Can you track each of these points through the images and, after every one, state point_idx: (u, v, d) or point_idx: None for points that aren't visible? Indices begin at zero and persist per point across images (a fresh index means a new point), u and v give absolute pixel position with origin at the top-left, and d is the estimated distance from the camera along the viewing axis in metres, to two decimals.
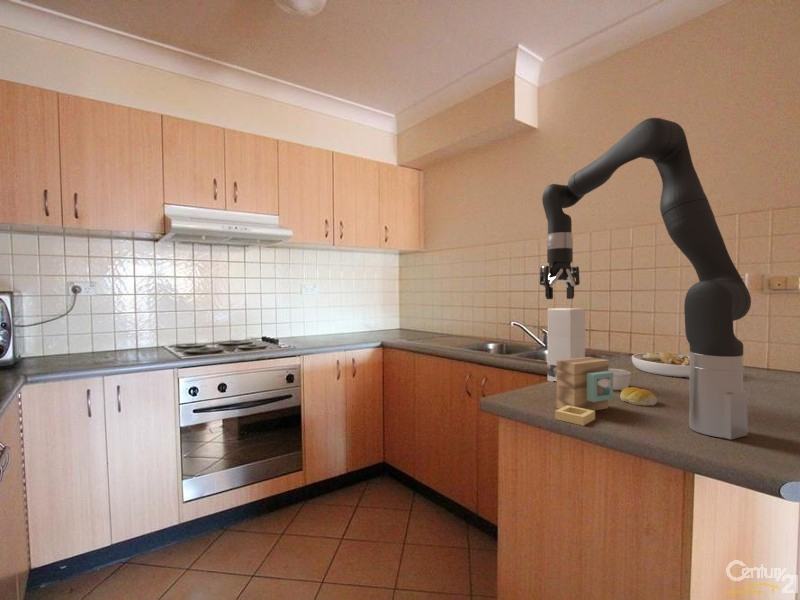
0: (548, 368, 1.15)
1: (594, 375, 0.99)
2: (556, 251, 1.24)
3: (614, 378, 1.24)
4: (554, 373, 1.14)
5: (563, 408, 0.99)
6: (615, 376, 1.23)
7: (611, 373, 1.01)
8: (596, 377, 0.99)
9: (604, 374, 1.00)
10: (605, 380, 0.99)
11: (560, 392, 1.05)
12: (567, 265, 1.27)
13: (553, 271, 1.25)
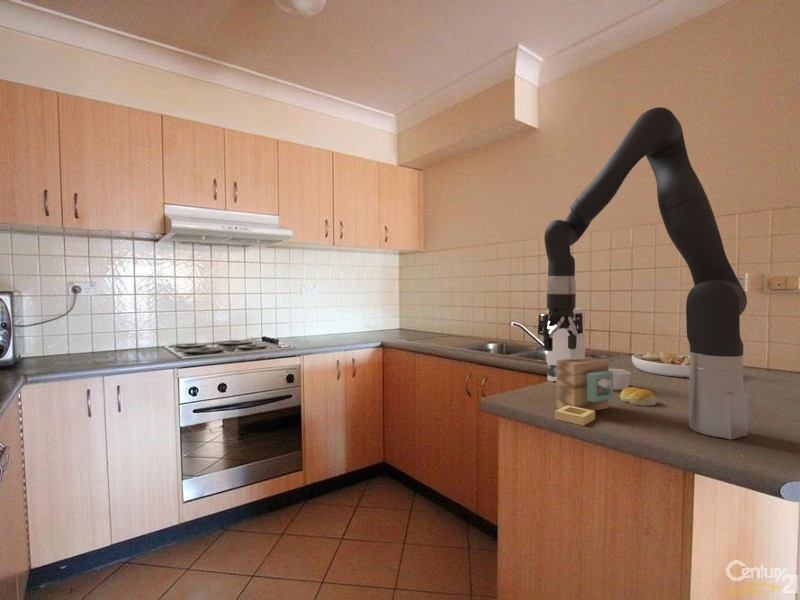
0: (548, 368, 1.15)
1: (594, 375, 0.99)
2: (557, 297, 1.09)
3: (614, 378, 1.24)
4: (554, 373, 1.14)
5: (563, 408, 0.99)
6: (615, 376, 1.23)
7: (611, 373, 1.01)
8: (596, 377, 0.99)
9: (604, 374, 1.00)
10: (605, 380, 0.99)
11: (560, 392, 1.05)
12: (569, 312, 1.12)
13: (553, 319, 1.10)
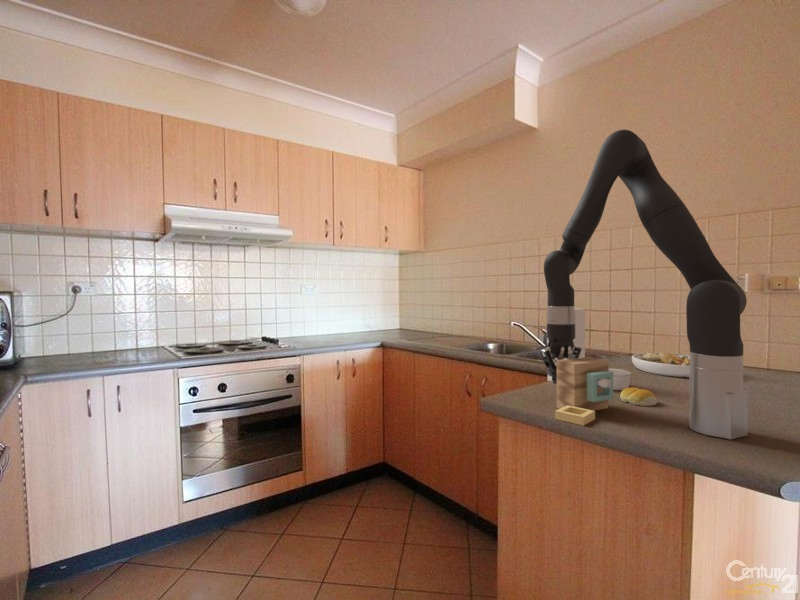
0: (548, 368, 1.15)
1: (594, 375, 0.99)
2: (557, 328, 1.10)
3: (614, 378, 1.24)
4: None
5: (563, 408, 0.99)
6: (615, 376, 1.23)
7: (611, 373, 1.01)
8: (596, 377, 0.99)
9: (604, 374, 1.00)
10: (605, 380, 0.99)
11: (560, 392, 1.05)
12: (569, 341, 1.13)
13: (554, 353, 1.11)
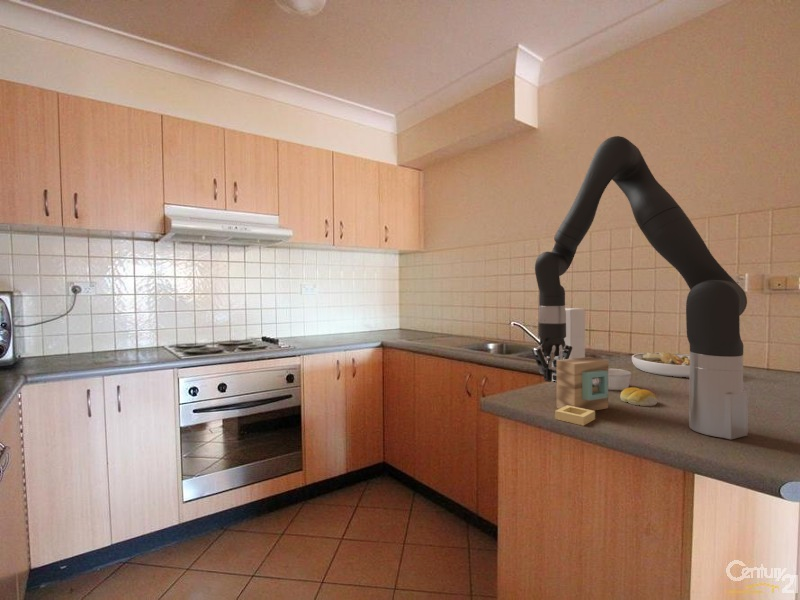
0: None
1: (589, 374, 1.00)
2: (548, 327, 1.13)
3: (614, 378, 1.24)
4: None
5: (563, 408, 0.99)
6: (615, 376, 1.23)
7: (606, 372, 1.02)
8: (591, 376, 1.00)
9: (599, 373, 1.01)
10: None
11: (560, 392, 1.05)
12: (560, 340, 1.16)
13: (546, 352, 1.14)
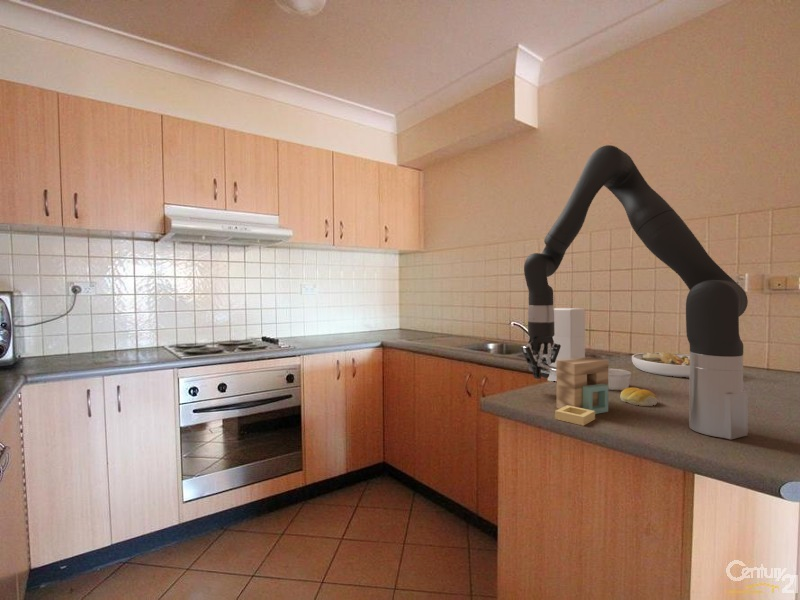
0: (530, 364, 1.22)
1: (589, 388, 1.00)
2: (537, 325, 1.17)
3: (614, 378, 1.24)
4: None
5: (563, 408, 0.99)
6: (615, 376, 1.23)
7: (606, 386, 1.02)
8: (592, 390, 1.00)
9: (599, 387, 1.01)
10: None
11: (560, 392, 1.05)
12: (549, 338, 1.20)
13: (535, 350, 1.18)
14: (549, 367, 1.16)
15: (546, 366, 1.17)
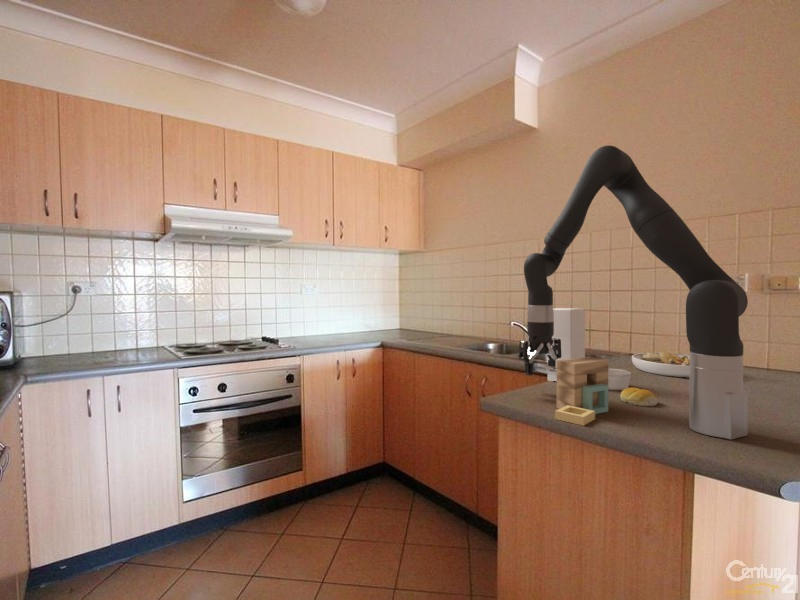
0: None
1: (589, 388, 1.00)
2: (536, 325, 1.17)
3: (614, 378, 1.24)
4: (535, 368, 1.21)
5: (563, 408, 0.99)
6: (615, 376, 1.23)
7: (606, 386, 1.02)
8: (592, 390, 1.00)
9: (599, 387, 1.01)
10: None
11: (560, 392, 1.05)
12: (548, 338, 1.20)
13: (533, 346, 1.18)
14: (549, 367, 1.16)
15: (546, 366, 1.17)
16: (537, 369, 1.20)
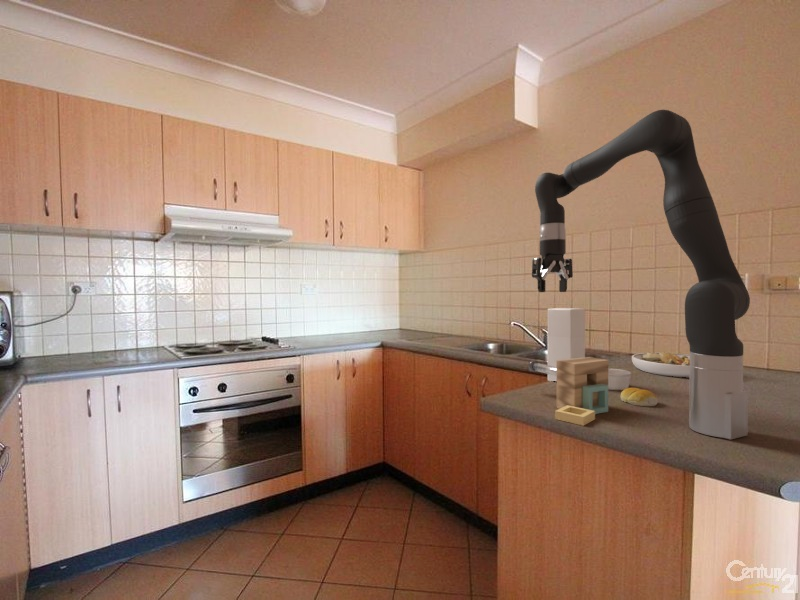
0: (529, 364, 1.22)
1: (589, 388, 1.00)
2: (549, 242, 1.20)
3: (614, 378, 1.24)
4: (535, 368, 1.21)
5: (563, 408, 0.99)
6: (615, 376, 1.23)
7: (606, 386, 1.02)
8: (592, 390, 1.00)
9: (599, 387, 1.01)
10: None
11: (560, 392, 1.05)
12: (560, 257, 1.23)
13: (546, 263, 1.21)
14: (549, 367, 1.16)
15: (546, 366, 1.17)
16: (537, 369, 1.20)
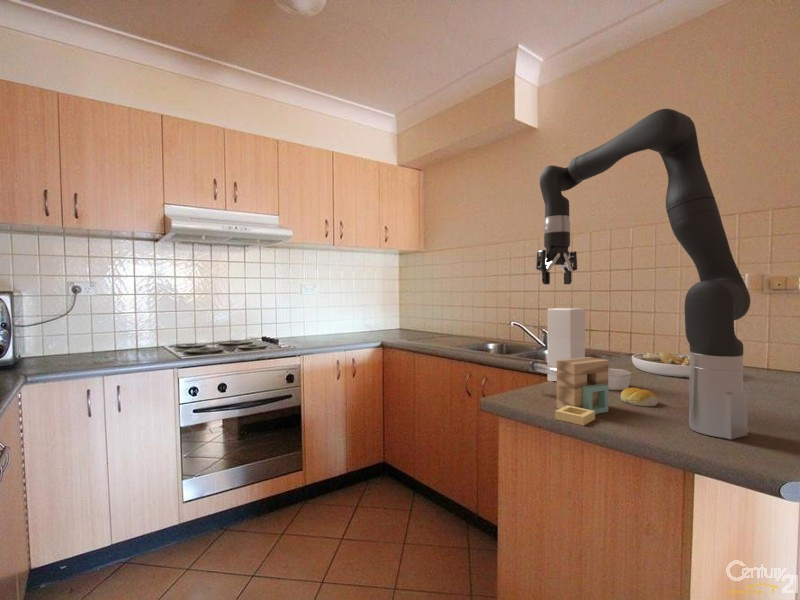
0: (529, 364, 1.22)
1: (589, 388, 1.00)
2: (553, 235, 1.21)
3: (614, 378, 1.24)
4: (535, 368, 1.21)
5: (563, 408, 0.99)
6: (615, 376, 1.23)
7: (606, 386, 1.02)
8: (592, 390, 1.00)
9: (599, 387, 1.01)
10: None
11: (560, 392, 1.05)
12: (564, 249, 1.24)
13: (550, 255, 1.22)
14: (549, 367, 1.16)
15: (546, 366, 1.17)
16: (537, 369, 1.20)
